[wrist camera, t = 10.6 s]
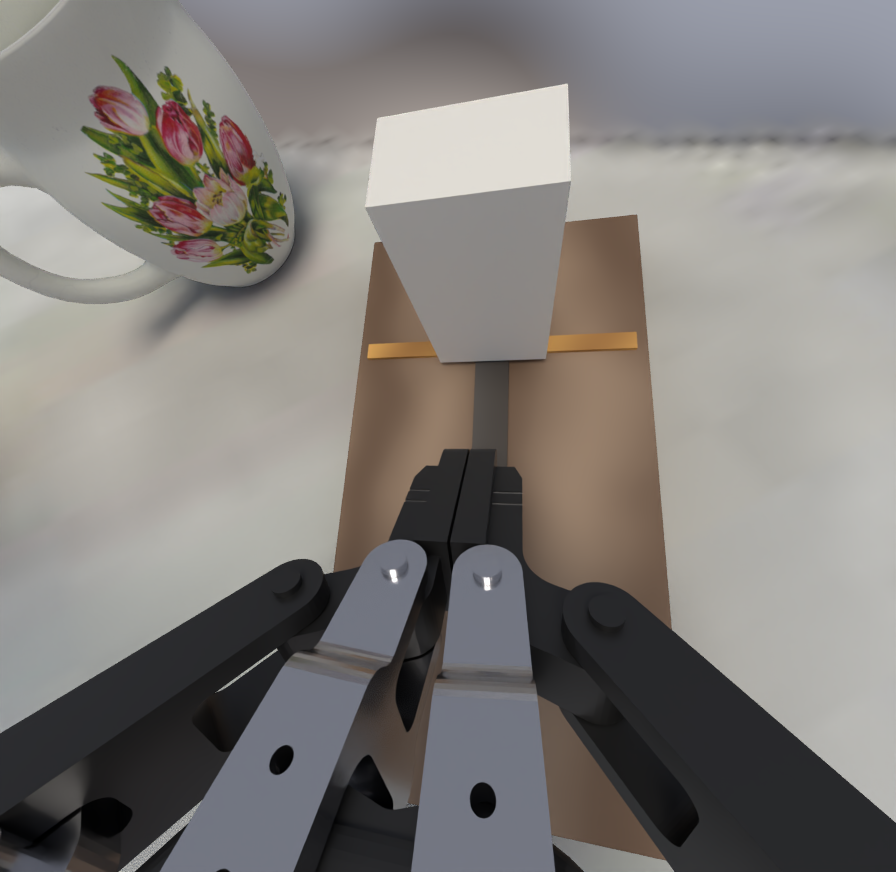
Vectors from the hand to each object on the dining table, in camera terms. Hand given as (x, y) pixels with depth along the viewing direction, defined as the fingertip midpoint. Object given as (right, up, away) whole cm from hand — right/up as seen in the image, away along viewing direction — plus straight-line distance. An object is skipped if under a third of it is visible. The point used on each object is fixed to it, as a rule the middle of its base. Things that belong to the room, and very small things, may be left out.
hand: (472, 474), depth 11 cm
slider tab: (+1, +6, +7) cm, 9 cm away
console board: (+2, -1, +8) cm, 8 cm away
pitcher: (-15, +14, +15) cm, 26 cm away
